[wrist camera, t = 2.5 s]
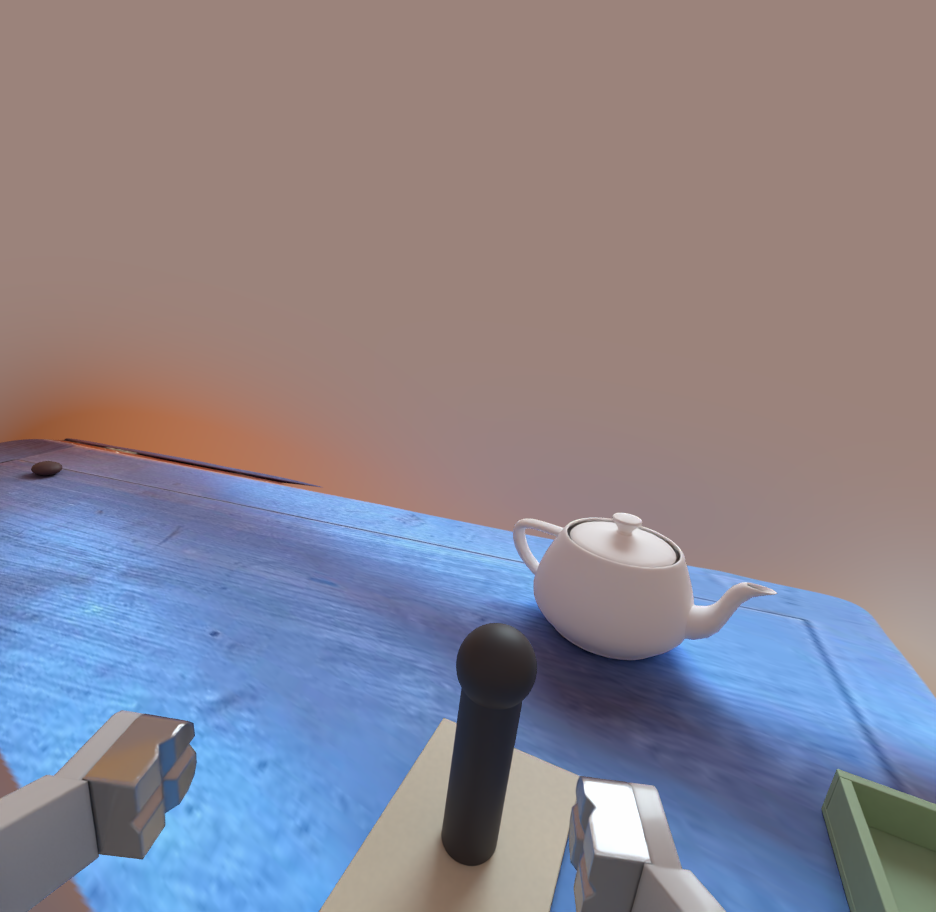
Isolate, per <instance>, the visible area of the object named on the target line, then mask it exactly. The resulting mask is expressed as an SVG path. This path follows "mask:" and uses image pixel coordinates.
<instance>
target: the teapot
mask: <svg viewBox="0 0 936 912" xmlns="http://www.w3.org/2000/svg"><path fill="white" fill-rule="evenodd" d="M612 518H613V519H609V518H582V519H578V520H575V521H573V522H570V523H569V524H567V525H566V526H565V527H564V528H562V527H559V526H556V525H553V524H550V523H547V522H543V521H540V520H535V519H522V520H519V521H518V522H517V523H516V524H515V526H514V529H513V539H514V544H515V547H516V549H517V552H518V554H519V555H520V557H521V559H522V560H523V562H524V563H525V564H526V566H527V567H528V568H529V569H530V570H531V572H532V573H533V574H534V575H535V577H534V596H535V600H536V602H537V604H538V607H539V609H540V611H541V612H542V613H543V615H544V616H545V617H546V619H547V620H548V621H549V622H550V623H551V624H552V625H553V626H554V627H555V629H556V630H557V631H558V632H559V633H560V634H561V635H562V636H563V637H564V638H566V639H567V640H569V641H570V642H572V643H573V644H575V645H577V646H579V647H580V648H582V649H584V650H587V651H589V652H592V653H594V654H597V655H600V656H604V657H608V658H613V659H619V660H639V659H644V658H648V657H652V656H656V655H659V654H663V653H666V652H668V651H670V650H672V649H673V648H675V647H676V646H678V645H680V644H681V643H682V642H683V640H684V639H691V640H696V639H702V638H708V637H710V636H712V635H713V634H715V633H717V632H718V631H719V630H720V629H721V628H722V627H723V626H724V625H725V624H726V622H727V621H728V620H729V618H730V617H731V616H732V614H733V613H734V612H735V611H736V610H737V608H738V607H739V606H740V605H741V604H742V603H744V602H745V601H747V600H749V599H750V598H752V597H758V596H764V595H775V594H777V593H776V592H775V591H774V590H772V589H769V588H767V587H764V586H761V585H757V584H753V583H739V584H737V585H734V586H732V587H731V588H730V589H729V590H728V591H727V592H726V593H725V594H724V595H723V596H722V597H721V599H720V600H719V601H717V602H716V603H715V604H712V605H709V606H697V605H694V598H693V591H692V586H691V581H690V577H689V573H688V569H687V565H686V561H685V557H684V554H683V552H682V551H681V549H680V548H679V547H678V546H677V545H676V544H675V543H674V542H673V541H671V540H670V539H668V538H667V537H665V536H663V535H662V534H660V533H658V532H655V531H653V530H651V529H648V528H646V527H643V526H641V524H642V520H641V519H640V518H638V517H636V516H634V515H631V514H627V513H615V514H614V515H613V516H612ZM526 528H531V529H536V530H539V531H542V532H545V533H548V534H551V535H554V536H557V537H556V539H555V540H554V541H553V543H552V544H551V545H550V547H549V548H548V550H547V551H546V553H545V554H544V556H543V558H542V560H541V562H540V564H539V563H538V561H537V560H536V559H535V558H534V556H533V554H532V553H531V551H530V549H529V547H528V544H527V541H526V537H525V529H526Z"/></svg>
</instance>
